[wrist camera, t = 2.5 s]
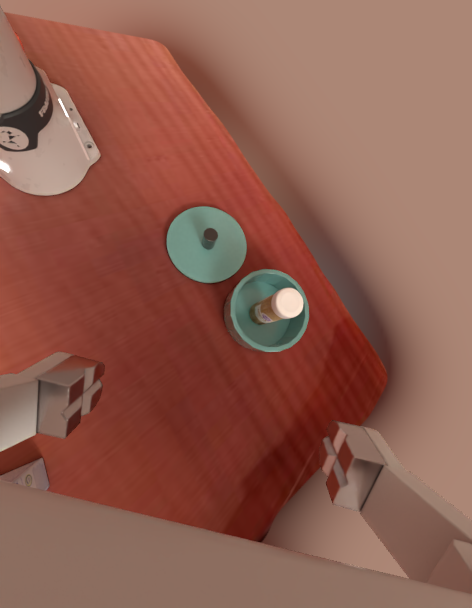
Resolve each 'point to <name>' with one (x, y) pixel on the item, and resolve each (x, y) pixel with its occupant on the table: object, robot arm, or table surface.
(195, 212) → the pan lid
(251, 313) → the sprinkles bottle
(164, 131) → the table surface
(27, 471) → the medicine box
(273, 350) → the pan
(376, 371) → the table surface
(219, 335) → the table surface
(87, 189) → the table surface
